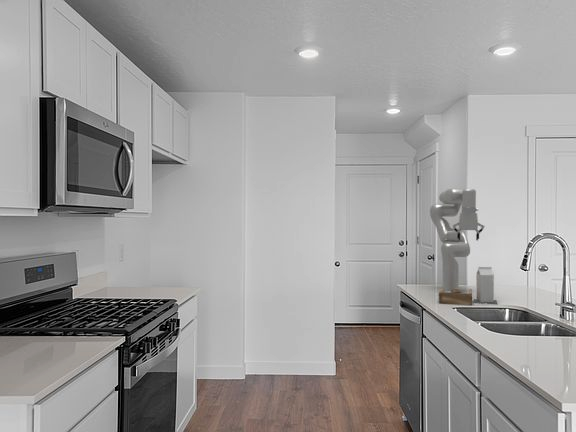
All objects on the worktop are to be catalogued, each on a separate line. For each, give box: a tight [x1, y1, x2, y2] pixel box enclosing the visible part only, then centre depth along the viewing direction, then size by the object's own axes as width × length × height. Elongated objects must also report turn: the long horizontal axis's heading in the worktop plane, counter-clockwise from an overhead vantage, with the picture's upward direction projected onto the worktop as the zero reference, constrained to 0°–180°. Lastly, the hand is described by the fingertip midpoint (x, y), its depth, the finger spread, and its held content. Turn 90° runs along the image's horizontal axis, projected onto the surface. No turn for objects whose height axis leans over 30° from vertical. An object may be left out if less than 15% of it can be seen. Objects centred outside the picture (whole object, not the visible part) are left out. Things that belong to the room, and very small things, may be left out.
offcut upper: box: [451, 288, 462, 293], centre depth 286 cm, size 4×10×3 cm, turn 169°
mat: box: [473, 298, 499, 305], centre depth 279 cm, size 12×12×1 cm
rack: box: [438, 287, 473, 306], centre depth 280 cm, size 18×17×6 cm
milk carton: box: [475, 266, 495, 302], centre depth 279 cm, size 7×7×19 cm
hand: (468, 240), depth 289 cm, fingers open, 9 cm apart
